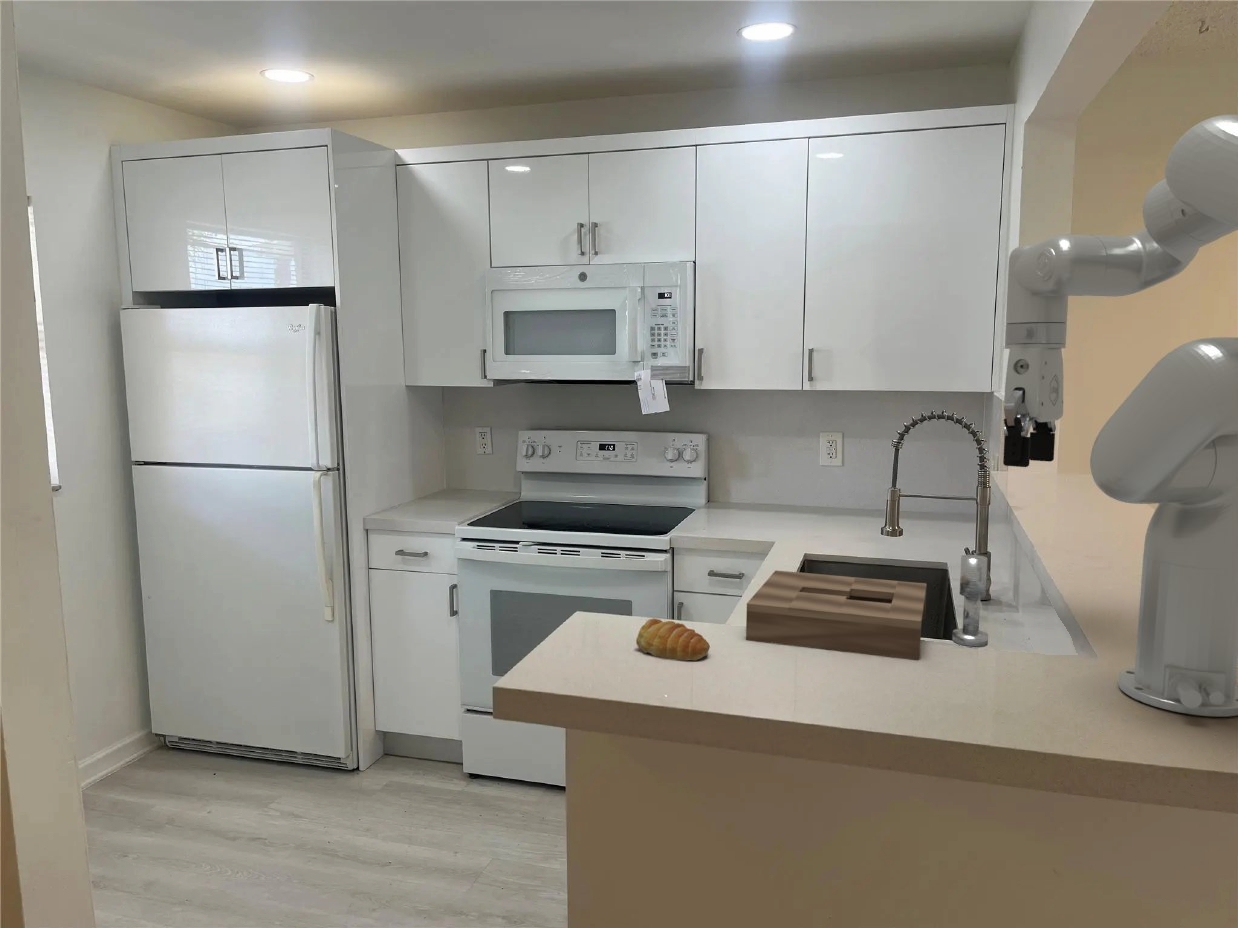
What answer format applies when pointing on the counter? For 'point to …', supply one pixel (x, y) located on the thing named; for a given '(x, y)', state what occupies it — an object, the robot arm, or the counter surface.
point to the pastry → (671, 641)
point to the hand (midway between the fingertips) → (1028, 463)
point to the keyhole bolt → (972, 601)
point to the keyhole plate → (839, 614)
